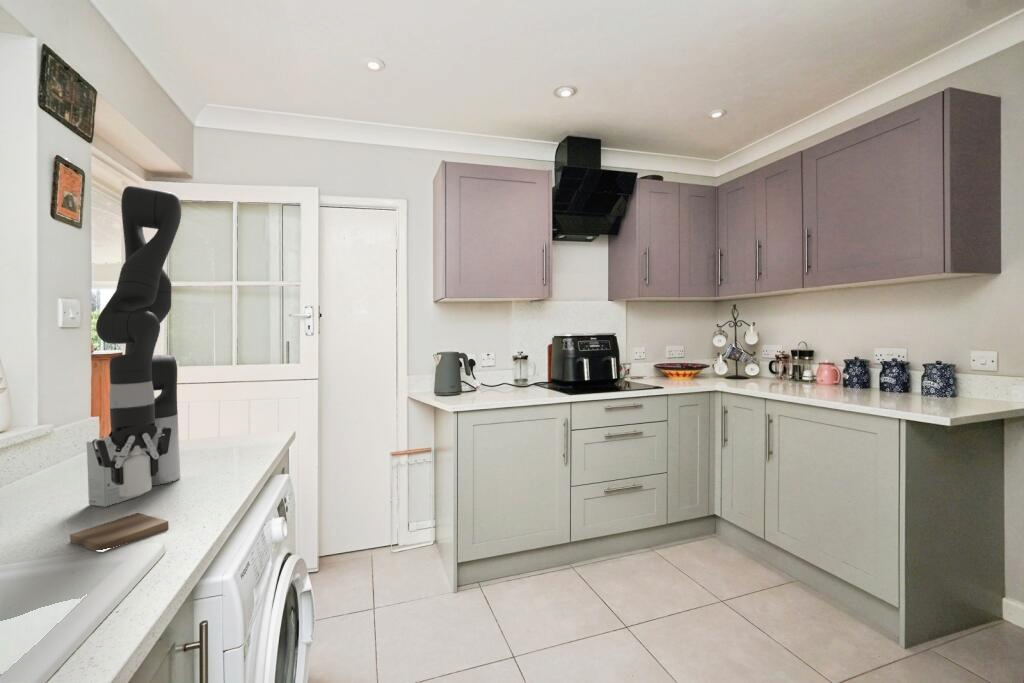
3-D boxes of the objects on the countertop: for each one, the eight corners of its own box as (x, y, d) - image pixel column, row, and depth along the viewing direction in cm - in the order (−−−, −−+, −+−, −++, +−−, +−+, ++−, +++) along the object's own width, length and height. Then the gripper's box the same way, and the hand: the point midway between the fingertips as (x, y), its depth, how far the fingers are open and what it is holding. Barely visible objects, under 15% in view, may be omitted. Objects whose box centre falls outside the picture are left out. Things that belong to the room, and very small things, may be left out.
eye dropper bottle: (117, 494, 101) (115, 439, 100) (150, 487, 105) (148, 435, 104) (120, 499, 98) (118, 443, 97) (154, 492, 102) (151, 438, 101)
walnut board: (70, 542, 87) (69, 534, 87) (138, 519, 97) (137, 512, 97) (100, 553, 83) (100, 544, 83) (168, 528, 92) (168, 521, 92)
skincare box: (105, 508, 104) (102, 442, 104) (87, 505, 106) (83, 441, 106) (144, 494, 112) (141, 434, 112) (127, 492, 114) (124, 432, 114)
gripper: (160, 397, 109) (163, 468, 109) (81, 407, 96) (85, 488, 97) (178, 399, 105) (181, 472, 106) (99, 410, 92) (103, 493, 93)
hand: (135, 479), depth 101 cm, fingers closed on eye dropper bottle, 5 cm apart
